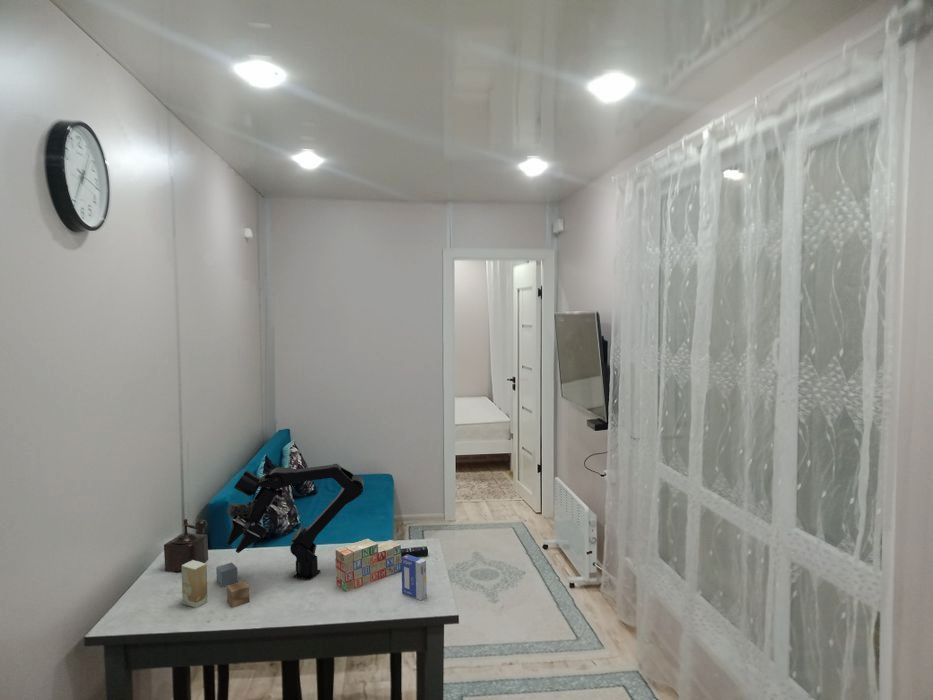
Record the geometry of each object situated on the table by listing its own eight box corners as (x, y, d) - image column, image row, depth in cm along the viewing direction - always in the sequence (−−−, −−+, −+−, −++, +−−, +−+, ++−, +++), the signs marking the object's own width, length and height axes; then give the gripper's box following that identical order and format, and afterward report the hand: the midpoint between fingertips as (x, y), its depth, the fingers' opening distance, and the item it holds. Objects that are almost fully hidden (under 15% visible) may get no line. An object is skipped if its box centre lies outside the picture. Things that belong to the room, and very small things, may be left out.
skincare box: (182, 604, 173) (179, 565, 172) (194, 597, 177) (192, 559, 176) (196, 608, 170) (194, 569, 169) (208, 601, 174) (207, 563, 173)
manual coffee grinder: (162, 572, 194) (159, 521, 193) (182, 558, 205) (179, 509, 204) (205, 574, 192) (202, 522, 191) (222, 559, 203) (220, 510, 202)
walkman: (402, 593, 178) (401, 556, 177) (407, 589, 180) (407, 553, 179) (421, 600, 173) (420, 562, 172) (427, 596, 175) (426, 559, 174)
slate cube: (232, 576, 190) (231, 562, 190) (237, 582, 187) (237, 567, 186) (216, 581, 187) (216, 566, 187) (222, 587, 183) (221, 572, 183)
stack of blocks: (391, 565, 198) (390, 530, 197) (401, 571, 193) (401, 536, 192) (336, 585, 184) (334, 548, 183) (345, 592, 179) (344, 554, 178)
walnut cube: (243, 596, 177) (243, 580, 177) (249, 602, 174) (248, 586, 173) (227, 601, 174) (226, 586, 174) (232, 608, 170) (232, 592, 170)
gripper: (231, 486, 189) (202, 530, 183) (250, 498, 174) (219, 545, 169) (259, 501, 195) (231, 544, 189) (279, 514, 180) (250, 560, 174)
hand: (232, 548), depth 180 cm, fingers open, 9 cm apart
